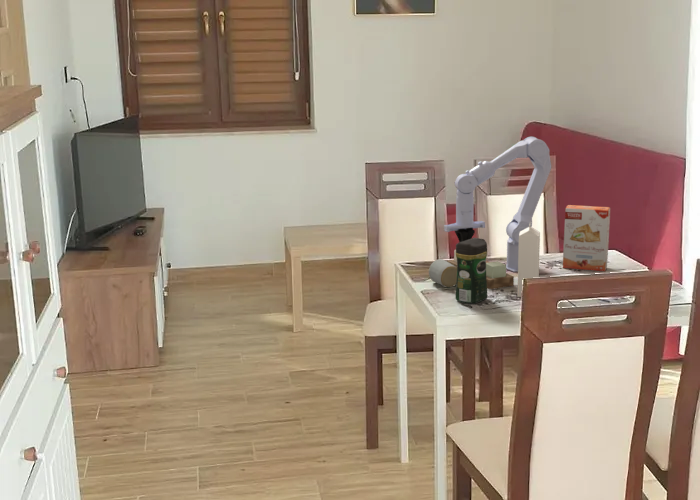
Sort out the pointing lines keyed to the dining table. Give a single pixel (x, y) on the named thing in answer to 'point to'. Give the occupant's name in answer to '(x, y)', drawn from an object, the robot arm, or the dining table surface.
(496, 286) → the keypad frame
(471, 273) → the coffee jar
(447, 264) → the ceramic mug
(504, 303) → the dining table surface
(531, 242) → the milk
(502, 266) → the key sage
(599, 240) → the cracker box
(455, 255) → the key ivory
